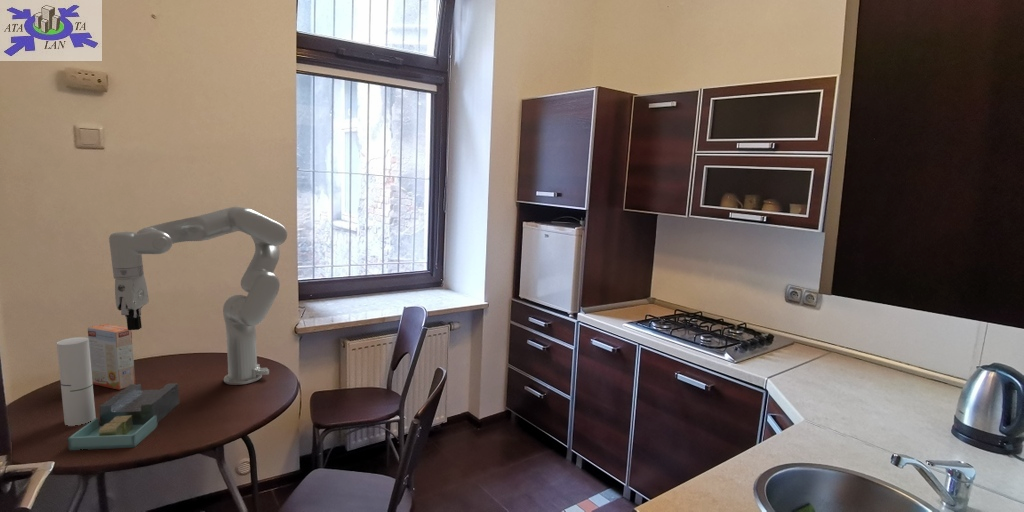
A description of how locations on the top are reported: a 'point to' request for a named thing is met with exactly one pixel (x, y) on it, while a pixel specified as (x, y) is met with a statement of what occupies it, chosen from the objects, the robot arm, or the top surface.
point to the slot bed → (140, 404)
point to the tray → (92, 440)
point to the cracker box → (111, 356)
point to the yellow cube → (111, 429)
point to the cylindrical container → (76, 380)
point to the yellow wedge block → (124, 423)
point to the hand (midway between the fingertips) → (134, 329)
